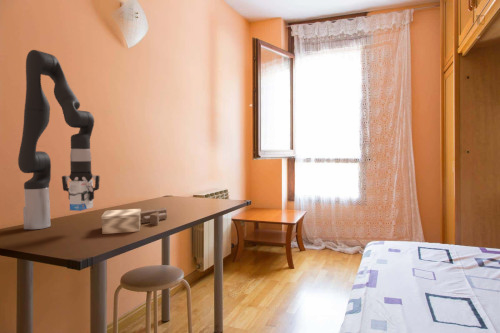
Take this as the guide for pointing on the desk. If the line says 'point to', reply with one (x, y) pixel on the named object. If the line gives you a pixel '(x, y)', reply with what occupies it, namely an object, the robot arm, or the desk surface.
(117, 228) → the chevron patterned box
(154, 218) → the wooden block set
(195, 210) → the desk surface
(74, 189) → the ink box
